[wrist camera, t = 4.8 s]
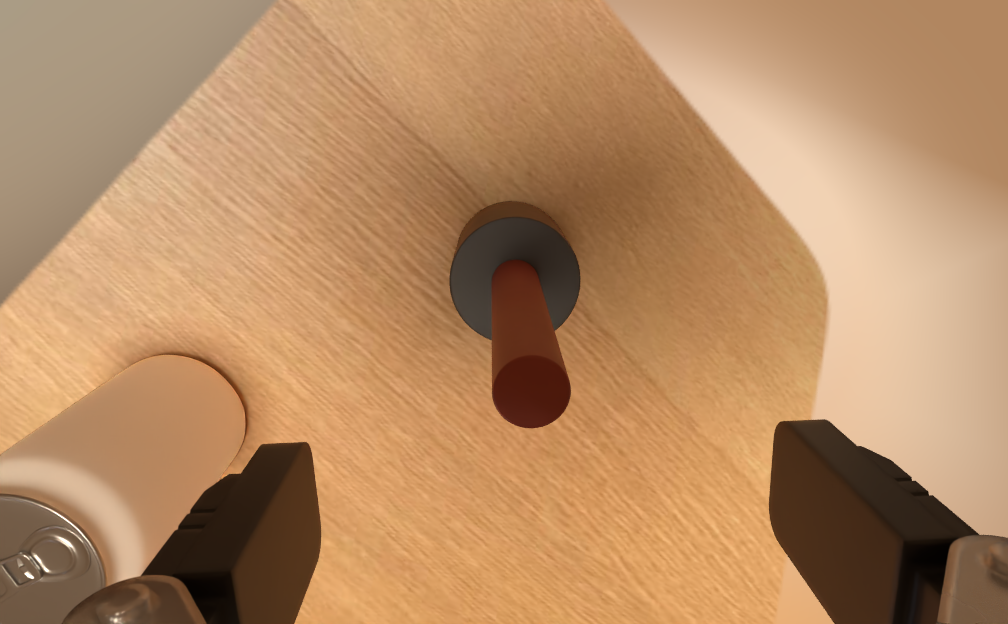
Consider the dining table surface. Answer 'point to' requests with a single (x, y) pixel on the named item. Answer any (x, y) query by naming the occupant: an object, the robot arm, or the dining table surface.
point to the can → (110, 483)
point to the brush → (518, 305)
